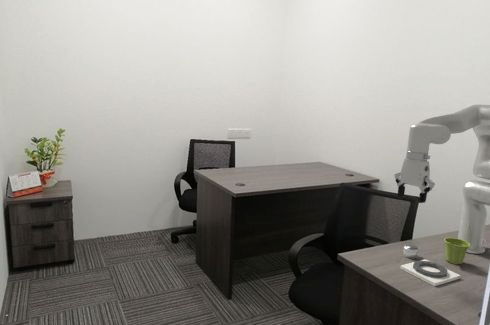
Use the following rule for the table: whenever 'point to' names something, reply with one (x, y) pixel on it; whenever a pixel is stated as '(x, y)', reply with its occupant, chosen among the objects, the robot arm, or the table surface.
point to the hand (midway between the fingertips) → (411, 199)
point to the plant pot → (455, 250)
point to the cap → (411, 251)
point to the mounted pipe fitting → (430, 272)
